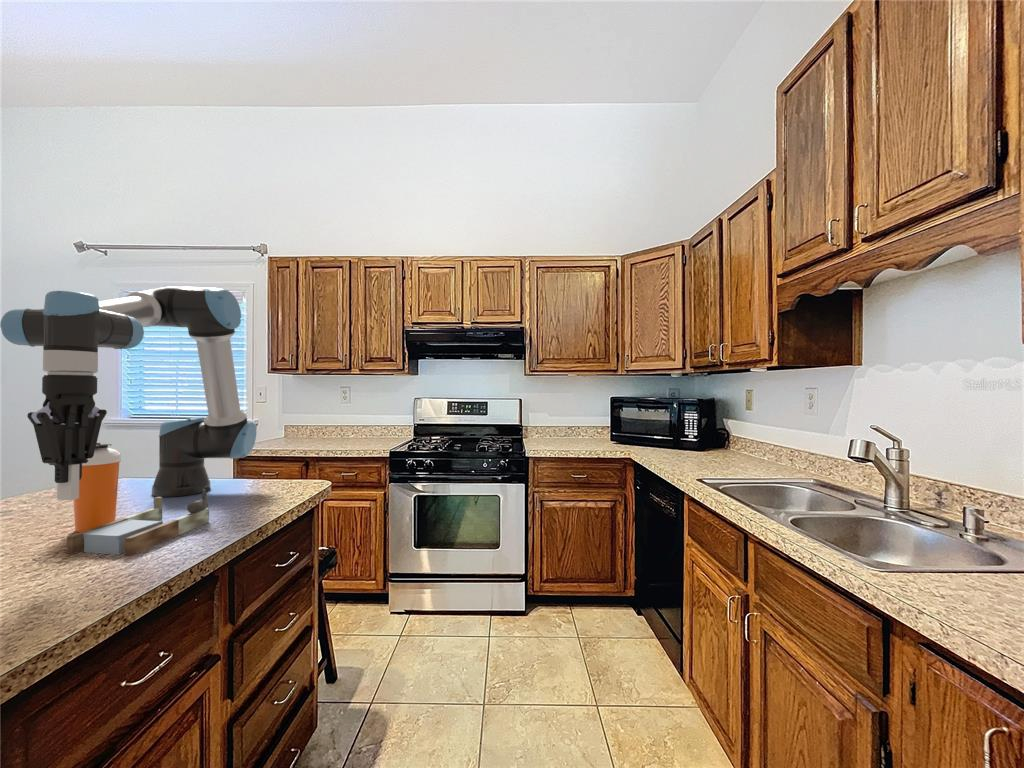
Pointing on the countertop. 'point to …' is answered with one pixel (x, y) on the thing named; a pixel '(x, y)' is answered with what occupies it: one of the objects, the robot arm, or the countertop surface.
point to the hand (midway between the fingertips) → (68, 498)
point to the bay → (155, 534)
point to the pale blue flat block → (115, 536)
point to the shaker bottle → (97, 489)
